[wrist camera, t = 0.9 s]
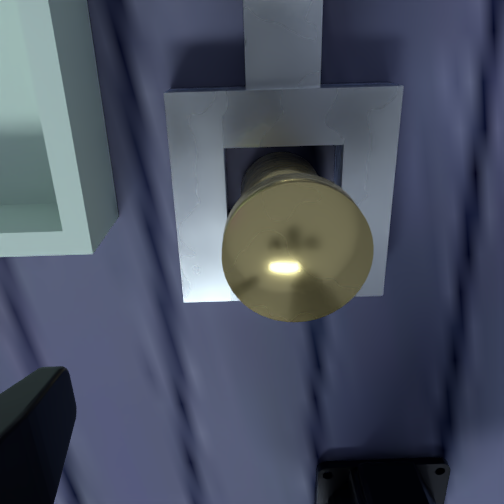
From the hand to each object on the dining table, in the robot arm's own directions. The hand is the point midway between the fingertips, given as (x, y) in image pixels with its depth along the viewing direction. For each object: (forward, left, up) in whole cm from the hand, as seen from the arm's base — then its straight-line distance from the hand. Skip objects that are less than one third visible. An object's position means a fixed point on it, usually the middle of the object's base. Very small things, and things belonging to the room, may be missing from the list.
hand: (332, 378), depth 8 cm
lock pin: (0, 0, -11) cm, 11 cm away
